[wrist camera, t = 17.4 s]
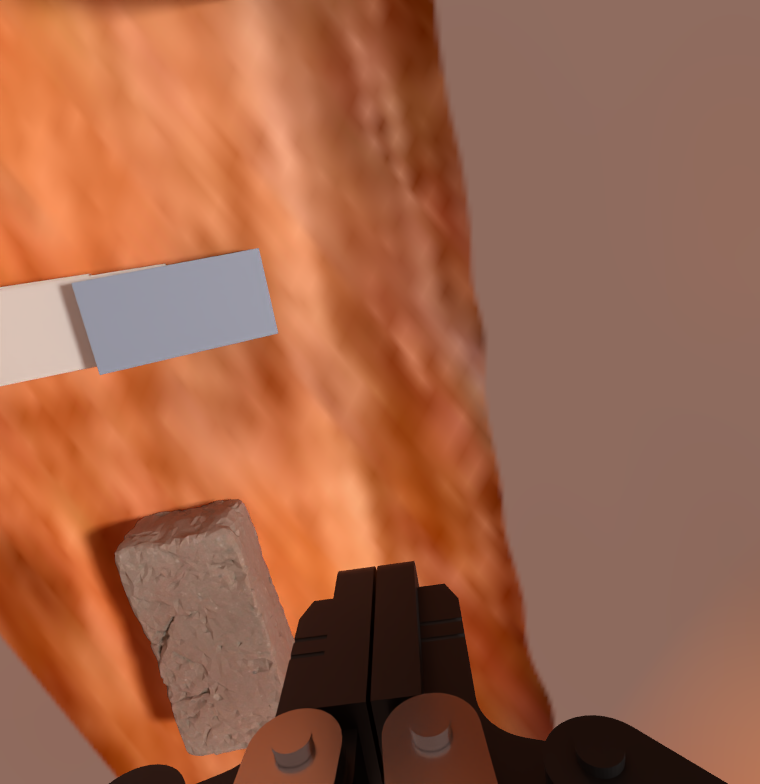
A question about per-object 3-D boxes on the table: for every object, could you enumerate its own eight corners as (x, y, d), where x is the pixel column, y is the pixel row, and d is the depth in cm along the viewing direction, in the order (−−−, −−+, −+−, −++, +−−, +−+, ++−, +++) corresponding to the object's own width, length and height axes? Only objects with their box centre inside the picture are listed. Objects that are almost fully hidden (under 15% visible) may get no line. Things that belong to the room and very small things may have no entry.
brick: (131, 518, 42) (99, 554, 37) (246, 491, 41) (228, 524, 36) (209, 710, 46) (189, 764, 41) (315, 689, 45) (306, 741, 40)
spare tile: (278, 333, 36) (99, 374, 33) (271, 330, 38) (102, 369, 35) (258, 248, 35) (71, 283, 31) (252, 249, 36) (75, 282, 33)
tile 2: (185, 347, 36) (-2, 386, 33) (183, 344, 38) (6, 380, 35) (165, 263, 35) (-32, 295, 32) (164, 263, 37) (-22, 293, 33)
